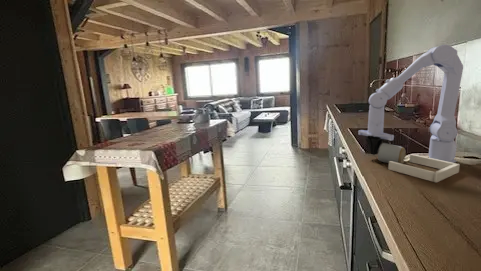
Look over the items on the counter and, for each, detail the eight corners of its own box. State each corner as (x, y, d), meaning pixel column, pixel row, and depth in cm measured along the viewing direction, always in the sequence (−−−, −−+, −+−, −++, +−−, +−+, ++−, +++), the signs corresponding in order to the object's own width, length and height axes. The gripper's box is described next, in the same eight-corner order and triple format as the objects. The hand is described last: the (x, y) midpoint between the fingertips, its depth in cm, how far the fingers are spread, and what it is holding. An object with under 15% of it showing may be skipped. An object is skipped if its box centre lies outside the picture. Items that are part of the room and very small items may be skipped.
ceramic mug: (400, 167, 99) (401, 147, 98) (376, 163, 105) (378, 144, 103) (407, 161, 107) (409, 142, 105) (385, 157, 112) (387, 139, 111)
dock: (411, 161, 105) (411, 154, 105) (458, 172, 92) (459, 164, 91) (388, 169, 98) (388, 161, 97) (436, 182, 85) (437, 173, 84)
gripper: (354, 121, 112) (352, 151, 115) (387, 125, 100) (384, 159, 103) (364, 119, 116) (363, 149, 118) (397, 123, 103) (395, 156, 106)
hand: (373, 154), depth 111 cm, fingers closed
